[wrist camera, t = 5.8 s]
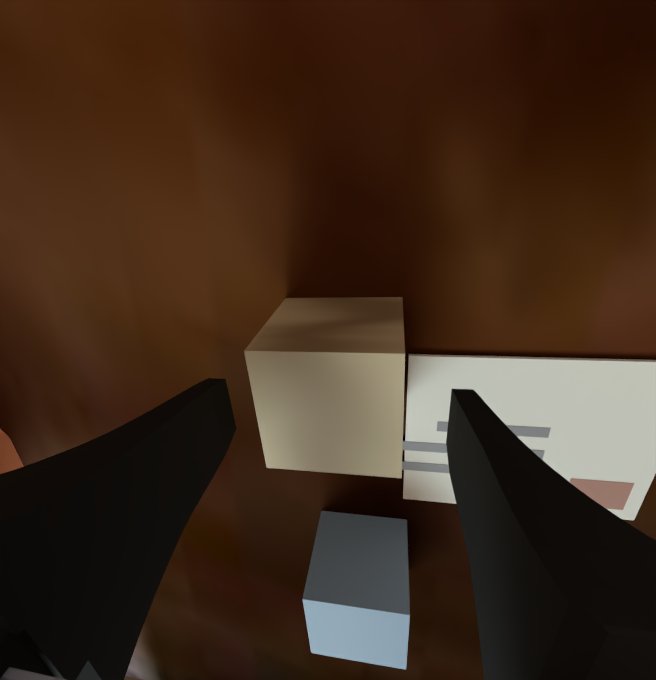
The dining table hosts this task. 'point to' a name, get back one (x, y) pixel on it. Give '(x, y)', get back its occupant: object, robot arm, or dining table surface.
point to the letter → (541, 420)
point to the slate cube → (359, 589)
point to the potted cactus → (8, 454)
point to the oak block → (331, 385)
